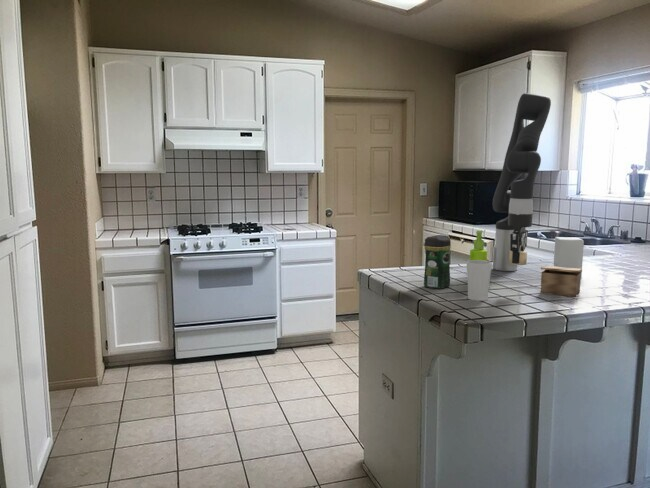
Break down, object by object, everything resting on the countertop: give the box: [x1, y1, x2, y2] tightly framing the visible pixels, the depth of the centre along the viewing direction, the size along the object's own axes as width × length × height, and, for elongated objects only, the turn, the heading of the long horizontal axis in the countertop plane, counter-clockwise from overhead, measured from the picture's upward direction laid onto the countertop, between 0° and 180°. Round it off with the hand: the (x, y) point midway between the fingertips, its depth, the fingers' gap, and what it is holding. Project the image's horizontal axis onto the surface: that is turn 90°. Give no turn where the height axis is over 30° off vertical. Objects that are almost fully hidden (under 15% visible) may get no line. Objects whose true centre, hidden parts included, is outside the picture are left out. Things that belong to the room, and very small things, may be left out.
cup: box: [466, 259, 493, 302], centre depth 174 cm, size 8×8×12 cm
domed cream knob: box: [509, 250, 528, 266], centre depth 181 cm, size 6×6×4 cm
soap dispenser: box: [469, 230, 488, 261], centre depth 192 cm, size 6×7×20 cm
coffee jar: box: [423, 234, 452, 290], centre depth 191 cm, size 10×8×19 cm
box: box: [540, 269, 582, 298], centre depth 183 cm, size 11×9×7 cm
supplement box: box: [553, 236, 585, 278], centre depth 212 cm, size 9×9×15 cm
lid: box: [540, 265, 583, 273], centre depth 182 cm, size 12×10×1 cm
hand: (517, 261), depth 181 cm, fingers closed on domed cream knob, 5 cm apart
